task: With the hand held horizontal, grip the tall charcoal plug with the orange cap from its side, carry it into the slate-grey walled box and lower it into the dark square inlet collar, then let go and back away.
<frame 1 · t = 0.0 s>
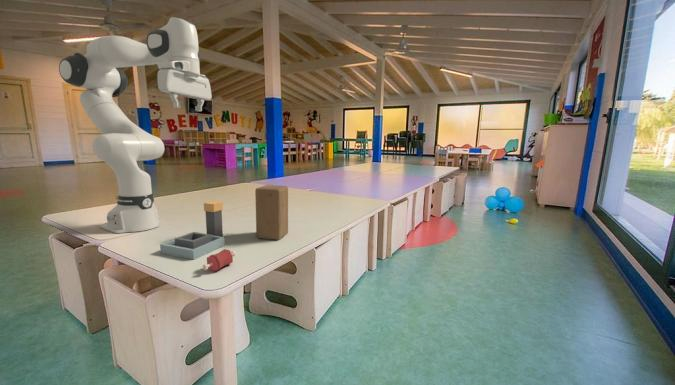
hand: (188, 109, 101), 48 cm above the table, tool pointing down, fingers open, 8 cm apart
meat: (220, 268, 84), on the table
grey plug: (214, 237, 109), on the table
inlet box: (194, 248, 97), on the table
wooden block: (272, 236, 113), on the table
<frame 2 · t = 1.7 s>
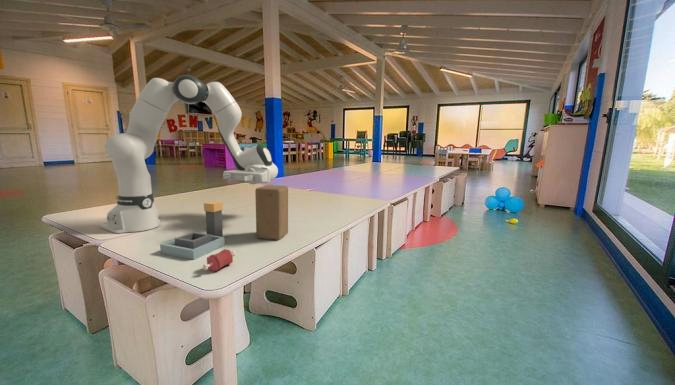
hand: (233, 177, 117), 22 cm above the table, tool horizontal, fingers open, 8 cm apart
nothing on the table moved.
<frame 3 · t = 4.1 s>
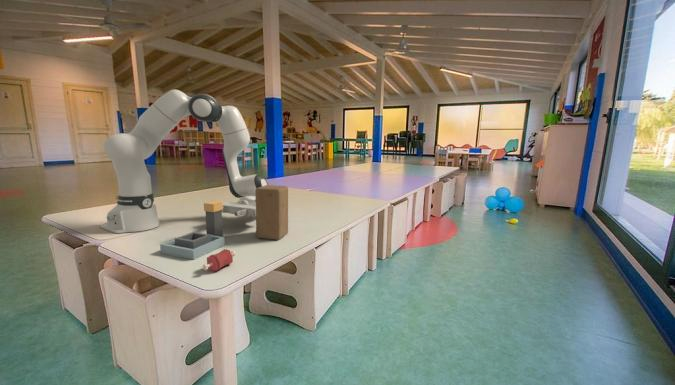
hand: (226, 212, 114), 8 cm above the table, tool horizontal, fingers open, 8 cm apart
nothing on the table moved.
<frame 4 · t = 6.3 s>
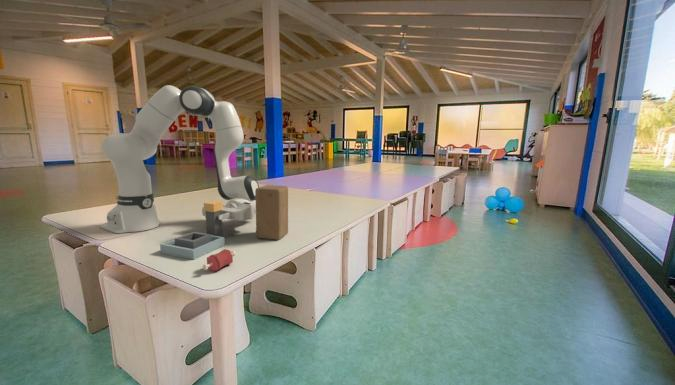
hand: (212, 216, 107), 9 cm above the table, tool horizontal, fingers closed on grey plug, 4 cm apart
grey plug: (214, 237, 109), on the table, touching gripper
everything else where it was.
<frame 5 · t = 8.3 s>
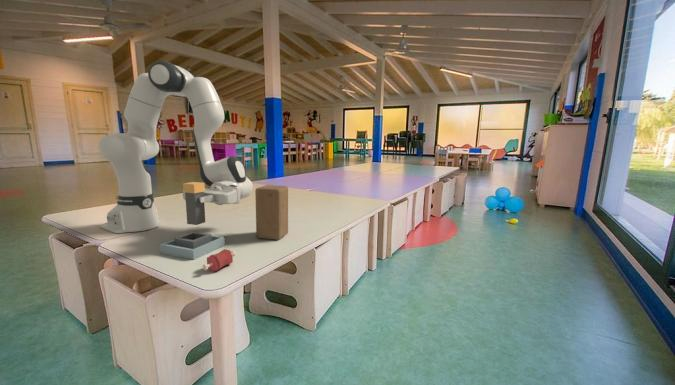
hand: (192, 199, 95), 17 cm above the table, tool horizontal, fingers closed on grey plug, 4 cm apart
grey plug: (196, 222, 98), point 9 cm above the table, touching gripper
everything else where it was.
when the fingers open (10 cm above the table, at t = 10.7 s): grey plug drops 1 cm, resting in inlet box.
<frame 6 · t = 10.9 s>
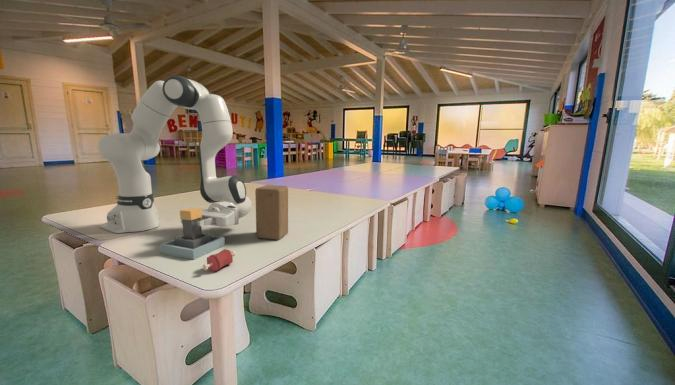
hand: (190, 222, 95), 10 cm above the table, tool horizontal, fingers open, 5 cm apart
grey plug: (194, 248, 97), resting in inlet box
everything else where it was.
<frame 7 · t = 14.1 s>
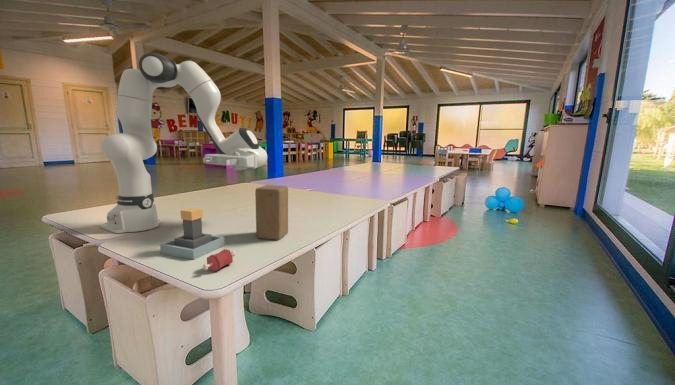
hand: (214, 161, 103), 30 cm above the table, tool horizontal, fingers open, 8 cm apart
nothing on the table moved.
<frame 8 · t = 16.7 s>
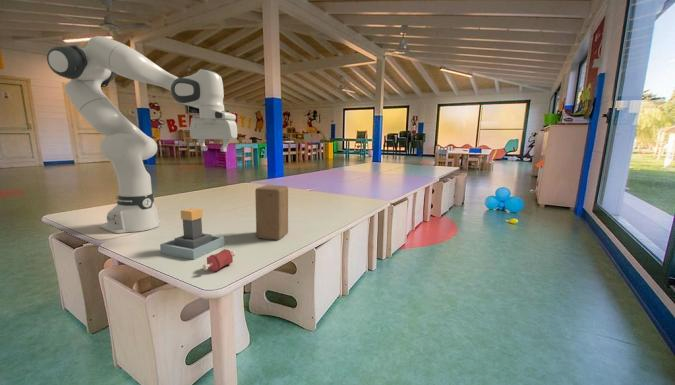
hand: (213, 151, 110), 33 cm above the table, tool pointing down, fingers open, 8 cm apart
nothing on the table moved.
at the end: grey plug 0.1 cm off-centre on the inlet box, point 0.0 cm above the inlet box's base; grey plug tilted 0°; the gripper is holding nothing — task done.
